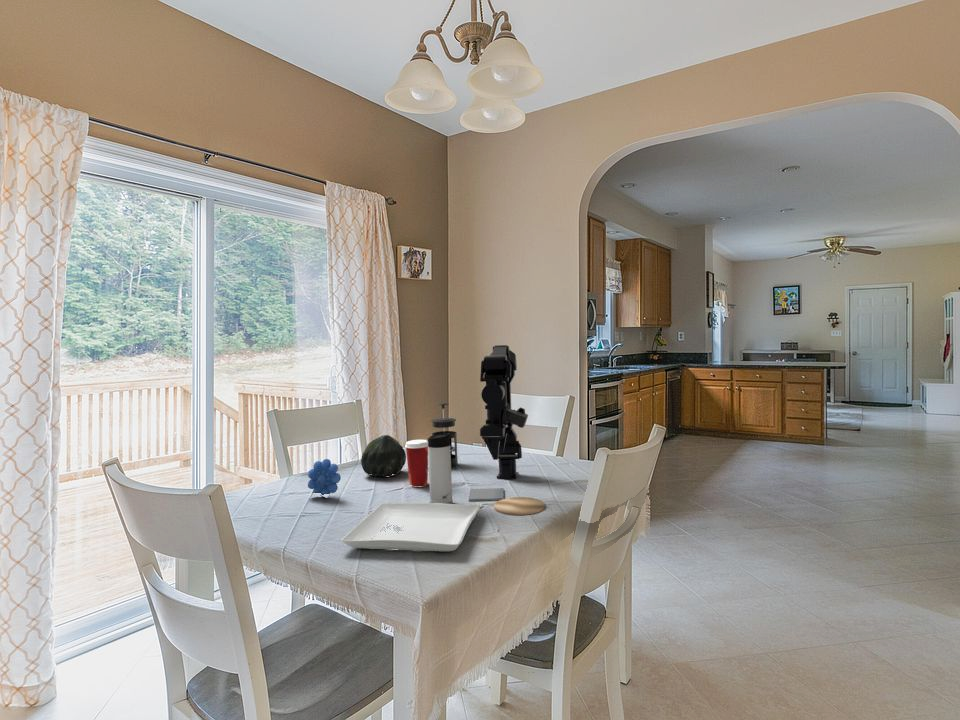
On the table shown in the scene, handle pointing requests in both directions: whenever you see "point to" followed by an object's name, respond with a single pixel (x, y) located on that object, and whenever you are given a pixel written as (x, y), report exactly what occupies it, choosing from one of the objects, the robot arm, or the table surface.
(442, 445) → the travel mug
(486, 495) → the stone coaster
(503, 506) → the cork trivet
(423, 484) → the paper cup
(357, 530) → the square plate
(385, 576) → the table surface
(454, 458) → the french press
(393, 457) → the squash
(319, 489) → the blue lobed thick disc
